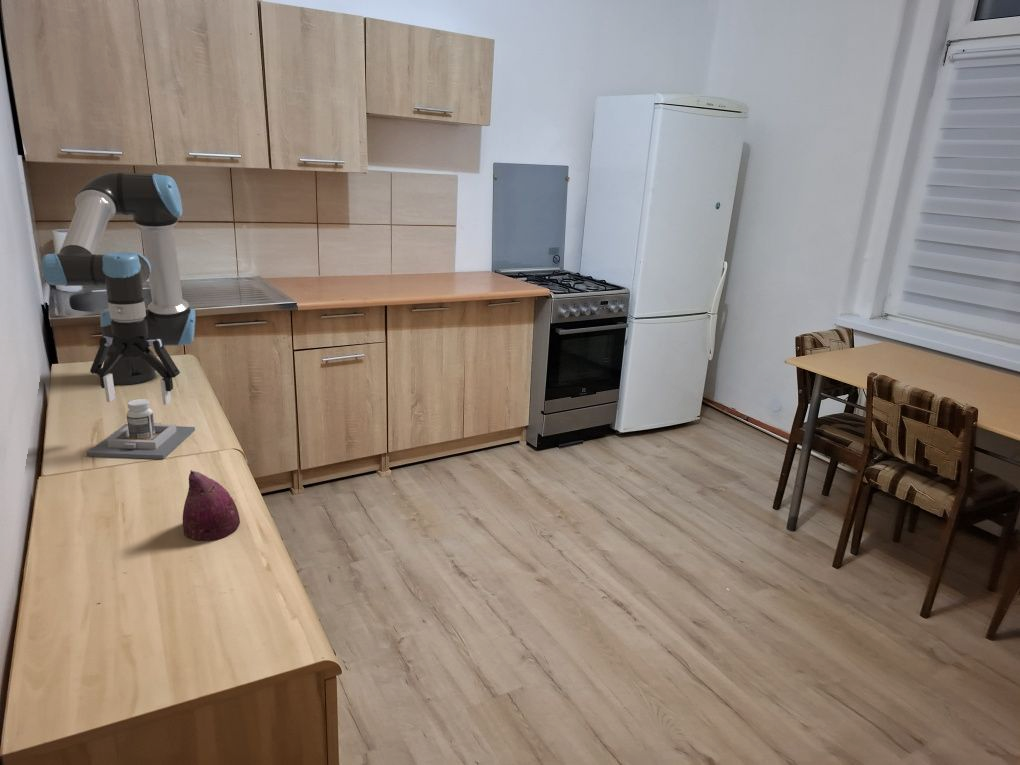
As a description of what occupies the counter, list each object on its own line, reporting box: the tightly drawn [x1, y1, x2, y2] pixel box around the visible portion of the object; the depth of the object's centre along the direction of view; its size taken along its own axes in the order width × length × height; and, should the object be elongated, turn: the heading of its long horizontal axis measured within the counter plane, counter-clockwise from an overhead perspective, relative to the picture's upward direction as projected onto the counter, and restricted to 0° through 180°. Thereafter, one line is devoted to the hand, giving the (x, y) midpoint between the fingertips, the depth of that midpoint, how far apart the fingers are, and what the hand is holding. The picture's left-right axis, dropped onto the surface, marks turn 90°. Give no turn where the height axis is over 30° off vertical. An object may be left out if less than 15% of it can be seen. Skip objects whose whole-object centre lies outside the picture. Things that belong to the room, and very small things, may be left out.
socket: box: [86, 422, 196, 460], centre depth 167 cm, size 18×18×3 cm
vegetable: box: [182, 469, 241, 542], centre depth 129 cm, size 10×10×15 cm
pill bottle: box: [126, 398, 155, 440], centre depth 166 cm, size 6×6×10 cm
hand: (139, 401), depth 165 cm, fingers open, 13 cm apart
